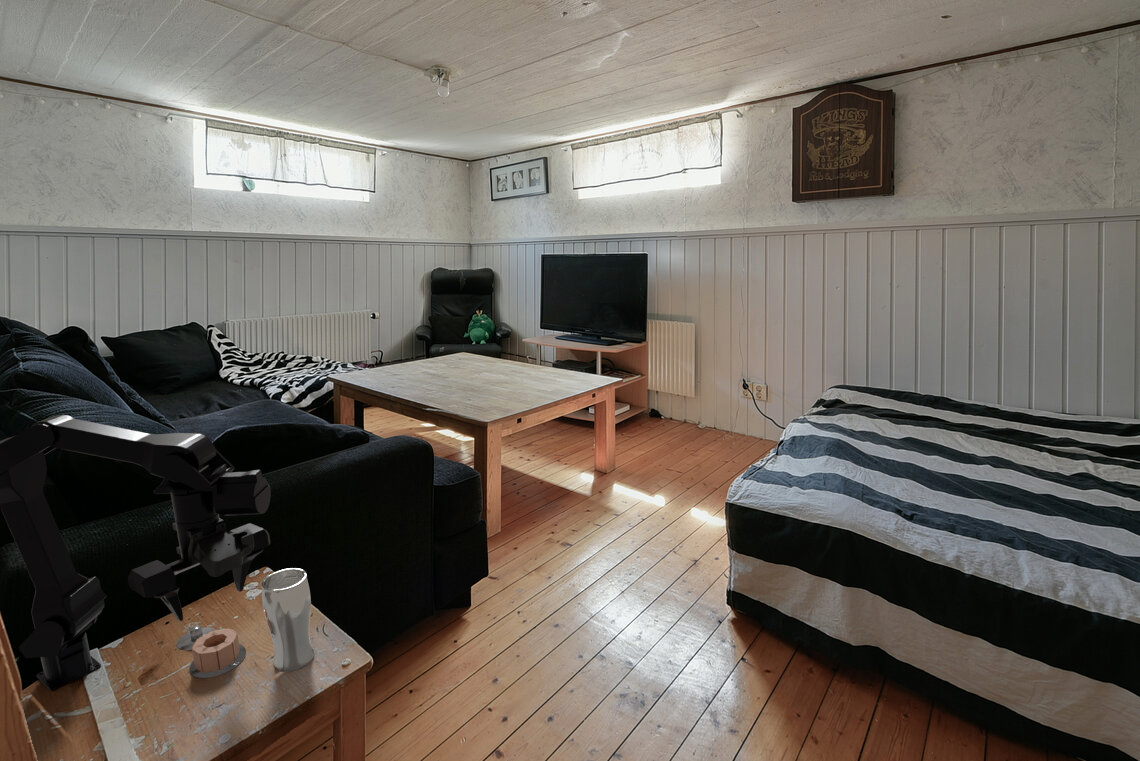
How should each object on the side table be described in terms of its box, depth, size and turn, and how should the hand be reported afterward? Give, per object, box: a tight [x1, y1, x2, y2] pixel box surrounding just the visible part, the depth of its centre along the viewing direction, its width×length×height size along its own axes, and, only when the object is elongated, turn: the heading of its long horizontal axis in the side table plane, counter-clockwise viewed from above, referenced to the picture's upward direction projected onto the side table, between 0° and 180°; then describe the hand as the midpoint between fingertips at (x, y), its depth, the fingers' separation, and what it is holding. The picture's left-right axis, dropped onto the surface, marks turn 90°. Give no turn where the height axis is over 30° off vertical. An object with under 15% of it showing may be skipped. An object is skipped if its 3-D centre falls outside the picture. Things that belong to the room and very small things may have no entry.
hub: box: [189, 643, 247, 679], centre depth 94 cm, size 8×8×3 cm
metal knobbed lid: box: [176, 624, 217, 651], centre depth 100 cm, size 6×6×2 cm
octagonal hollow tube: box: [191, 627, 240, 673], centre depth 94 cm, size 6×6×4 cm
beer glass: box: [261, 567, 315, 673], centre depth 94 cm, size 7×7×15 cm
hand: (211, 604), depth 92 cm, fingers open, 9 cm apart
